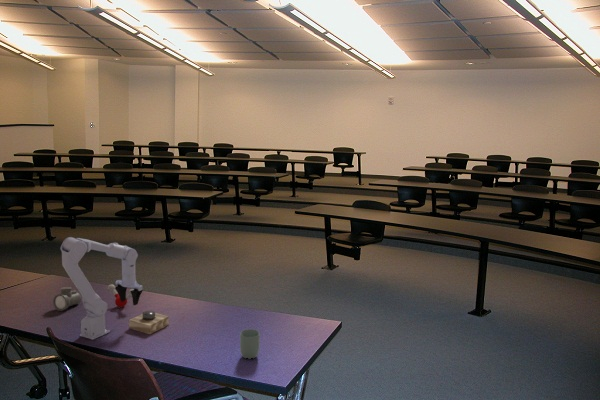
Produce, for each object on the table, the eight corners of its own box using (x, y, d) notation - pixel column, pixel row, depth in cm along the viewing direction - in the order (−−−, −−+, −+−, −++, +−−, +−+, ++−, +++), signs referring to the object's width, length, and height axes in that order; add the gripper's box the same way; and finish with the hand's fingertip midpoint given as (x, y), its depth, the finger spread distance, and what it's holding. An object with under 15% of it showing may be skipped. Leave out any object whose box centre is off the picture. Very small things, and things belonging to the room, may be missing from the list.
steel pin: (149, 329, 233) (149, 316, 232) (140, 326, 235) (139, 313, 234) (157, 324, 238) (157, 312, 237) (148, 322, 240) (148, 309, 239)
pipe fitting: (65, 311, 249) (65, 290, 249) (52, 310, 252) (52, 289, 251) (84, 306, 260) (84, 285, 260) (71, 305, 263) (71, 284, 263)
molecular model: (138, 308, 257) (138, 288, 255) (130, 312, 252) (129, 292, 250) (112, 301, 265) (112, 282, 263) (103, 305, 260) (103, 285, 259)
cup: (259, 352, 215) (260, 329, 213) (258, 361, 207) (259, 337, 205) (240, 352, 215) (240, 328, 213) (238, 361, 207) (239, 337, 205)
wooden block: (150, 334, 229) (149, 325, 228) (129, 328, 234) (129, 319, 233) (168, 324, 239) (168, 316, 238) (148, 319, 244) (148, 311, 244)
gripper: (147, 274, 236) (147, 303, 238) (123, 268, 243) (124, 297, 245) (135, 278, 230) (136, 308, 232) (111, 272, 236) (112, 301, 239)
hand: (129, 302), depth 238 cm, fingers open, 7 cm apart
